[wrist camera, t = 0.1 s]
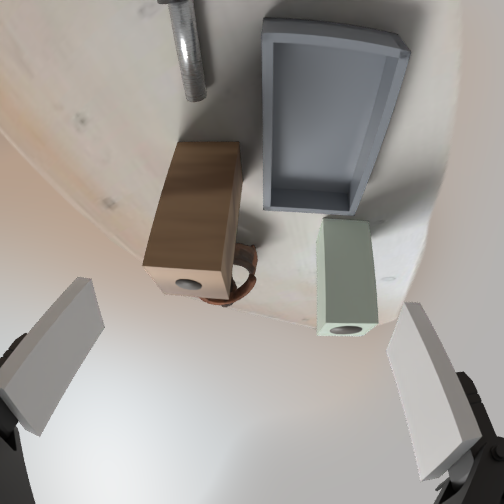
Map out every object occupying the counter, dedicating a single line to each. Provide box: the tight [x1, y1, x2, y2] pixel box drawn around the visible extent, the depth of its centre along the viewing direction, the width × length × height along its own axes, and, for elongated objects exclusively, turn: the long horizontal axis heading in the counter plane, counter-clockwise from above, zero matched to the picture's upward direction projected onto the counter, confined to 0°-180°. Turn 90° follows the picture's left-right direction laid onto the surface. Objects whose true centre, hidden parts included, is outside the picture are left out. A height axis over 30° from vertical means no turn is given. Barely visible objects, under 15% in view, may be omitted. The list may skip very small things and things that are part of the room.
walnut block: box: [142, 142, 243, 300], centre depth 23 cm, size 5×5×11 cm
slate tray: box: [261, 18, 411, 216], centre depth 20 cm, size 16×8×3 cm, turn 2°
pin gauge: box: [157, 0, 207, 102], centre depth 14 cm, size 10×2×2 cm, turn 2°
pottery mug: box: [199, 243, 258, 307], centre depth 39 cm, size 12×10×8 cm
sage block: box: [316, 218, 378, 336], centre depth 31 cm, size 5×5×11 cm
